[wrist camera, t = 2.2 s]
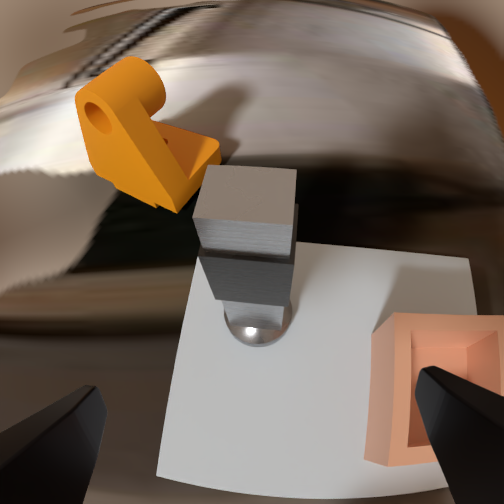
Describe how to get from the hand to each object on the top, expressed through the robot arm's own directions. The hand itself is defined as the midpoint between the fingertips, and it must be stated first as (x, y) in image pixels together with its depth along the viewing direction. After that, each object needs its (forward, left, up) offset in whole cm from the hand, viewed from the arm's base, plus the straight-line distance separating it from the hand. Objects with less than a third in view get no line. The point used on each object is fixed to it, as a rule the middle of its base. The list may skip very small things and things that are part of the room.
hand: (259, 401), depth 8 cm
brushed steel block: (+7, +1, -12) cm, 14 cm away
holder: (+2, -11, -12) cm, 16 cm away
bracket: (+20, +12, -13) cm, 26 cm away
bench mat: (+4, -5, -13) cm, 14 cm away
